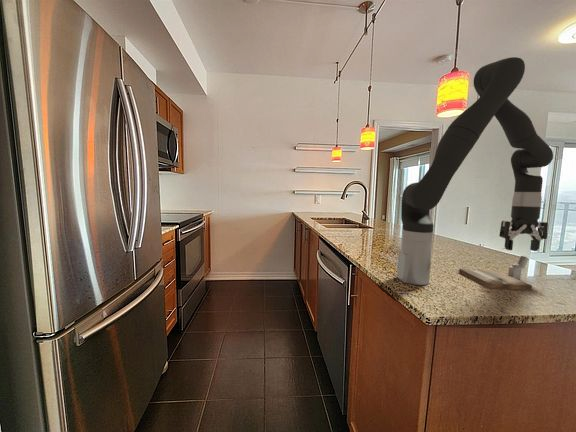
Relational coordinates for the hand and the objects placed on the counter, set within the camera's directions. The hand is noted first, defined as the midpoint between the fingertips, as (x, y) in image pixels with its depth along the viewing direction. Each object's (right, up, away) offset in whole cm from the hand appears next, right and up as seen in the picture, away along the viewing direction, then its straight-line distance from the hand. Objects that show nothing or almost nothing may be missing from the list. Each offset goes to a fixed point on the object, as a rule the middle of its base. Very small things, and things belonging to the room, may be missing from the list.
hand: (521, 250), depth 92 cm
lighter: (0, -11, +1) cm, 11 cm away
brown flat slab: (-12, -10, -2) cm, 16 cm away
